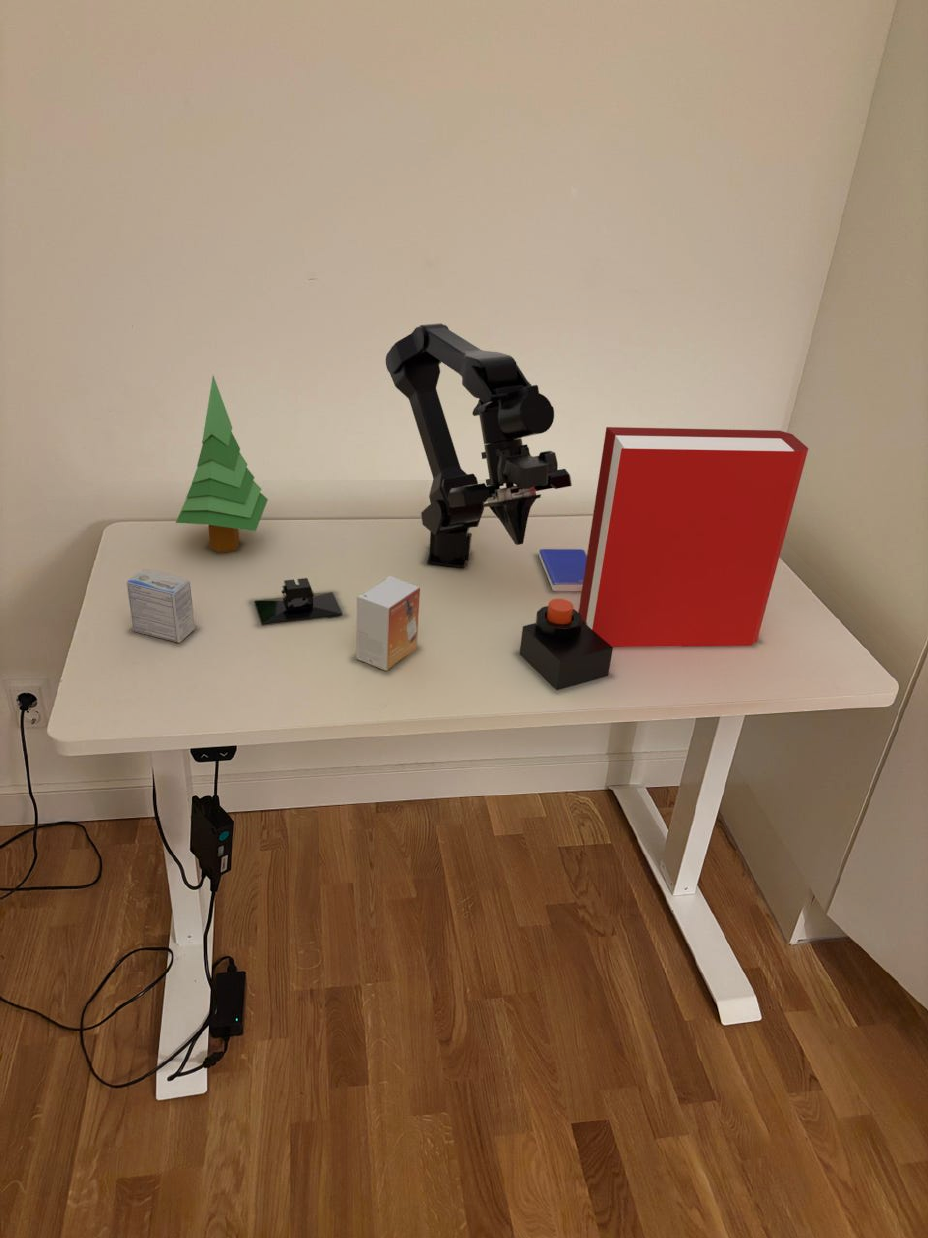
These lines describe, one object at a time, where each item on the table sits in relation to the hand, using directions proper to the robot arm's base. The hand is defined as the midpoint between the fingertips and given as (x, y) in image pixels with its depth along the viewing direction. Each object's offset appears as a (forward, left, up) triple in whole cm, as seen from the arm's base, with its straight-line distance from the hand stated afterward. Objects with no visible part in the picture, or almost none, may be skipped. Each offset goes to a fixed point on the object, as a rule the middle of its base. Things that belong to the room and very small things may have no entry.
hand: (519, 544), depth 147 cm
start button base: (+9, -13, -12) cm, 20 cm away
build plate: (-33, -7, -12) cm, 36 cm away
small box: (-17, -16, -12) cm, 26 cm away
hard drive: (+8, +16, -12) cm, 22 cm away
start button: (+7, -11, -6) cm, 14 cm away
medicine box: (-50, -18, -12) cm, 54 cm away
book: (+25, 0, -12) cm, 28 cm away
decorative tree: (-51, +10, -12) cm, 53 cm away
